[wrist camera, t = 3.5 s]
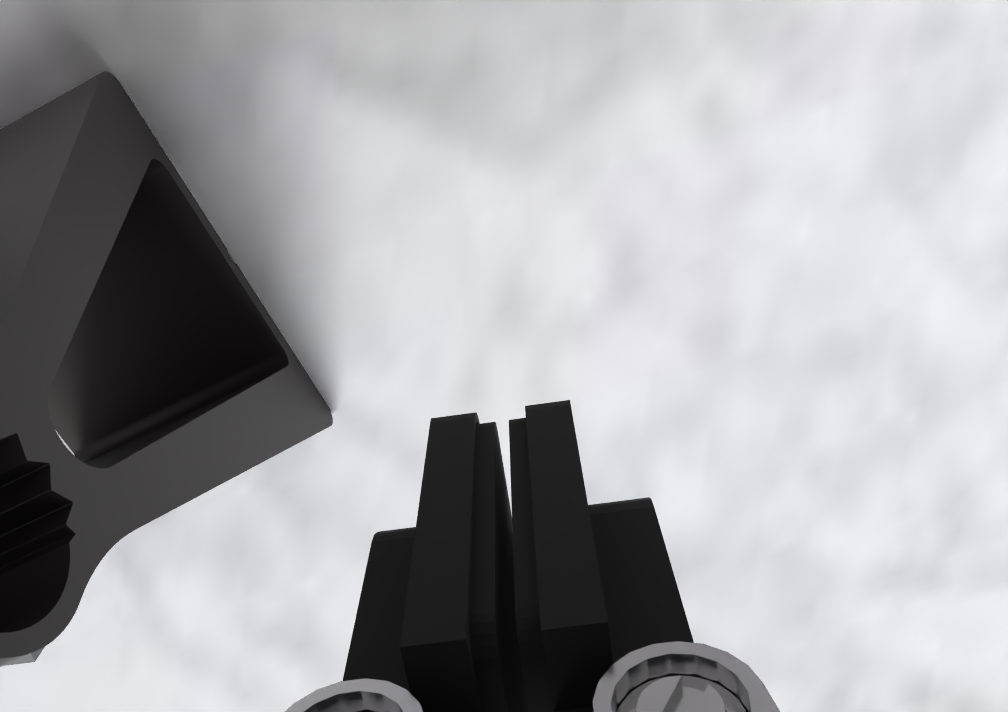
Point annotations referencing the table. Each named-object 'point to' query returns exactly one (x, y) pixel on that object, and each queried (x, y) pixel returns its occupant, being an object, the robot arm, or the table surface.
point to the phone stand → (117, 353)
